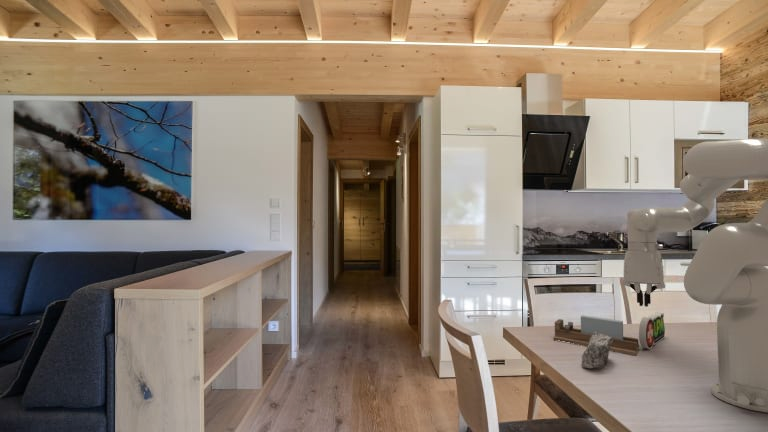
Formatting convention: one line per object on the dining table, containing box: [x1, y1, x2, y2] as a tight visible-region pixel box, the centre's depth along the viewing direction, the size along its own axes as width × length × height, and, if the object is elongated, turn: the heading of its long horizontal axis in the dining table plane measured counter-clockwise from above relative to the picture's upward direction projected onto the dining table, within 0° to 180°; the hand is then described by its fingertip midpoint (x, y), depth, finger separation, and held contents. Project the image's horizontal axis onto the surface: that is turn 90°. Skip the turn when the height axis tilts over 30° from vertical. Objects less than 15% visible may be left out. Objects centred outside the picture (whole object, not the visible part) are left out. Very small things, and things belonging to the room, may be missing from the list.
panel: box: [580, 314, 624, 340], centre depth 121 cm, size 2×12×8 cm, turn 48°
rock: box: [581, 332, 613, 369], centre depth 104 cm, size 16×8×10 cm, turn 128°
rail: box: [553, 318, 640, 357], centre depth 122 cm, size 9×24×6 cm, turn 49°
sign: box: [638, 311, 666, 350], centre depth 122 cm, size 22×2×10 cm, turn 129°
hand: (643, 305), depth 113 cm, fingers closed
